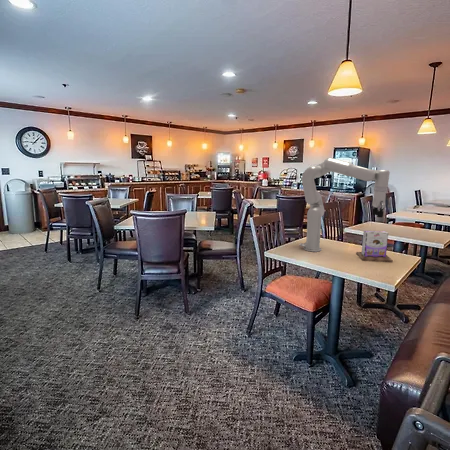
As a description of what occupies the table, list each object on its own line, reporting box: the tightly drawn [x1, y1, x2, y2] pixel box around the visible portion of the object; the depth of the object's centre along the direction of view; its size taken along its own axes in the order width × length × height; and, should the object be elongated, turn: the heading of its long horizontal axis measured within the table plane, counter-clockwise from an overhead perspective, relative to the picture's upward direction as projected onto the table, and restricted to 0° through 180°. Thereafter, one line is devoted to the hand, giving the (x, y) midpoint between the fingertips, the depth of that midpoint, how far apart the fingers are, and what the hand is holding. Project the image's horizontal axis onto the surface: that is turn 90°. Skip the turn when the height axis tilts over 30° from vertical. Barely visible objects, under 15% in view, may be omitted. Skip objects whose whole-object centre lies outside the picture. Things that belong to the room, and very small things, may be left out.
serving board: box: [355, 251, 393, 263], centre depth 198 cm, size 18×16×2 cm
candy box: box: [361, 230, 389, 257], centre depth 197 cm, size 14×6×16 cm, turn 83°
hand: (377, 216), depth 193 cm, fingers open, 9 cm apart
